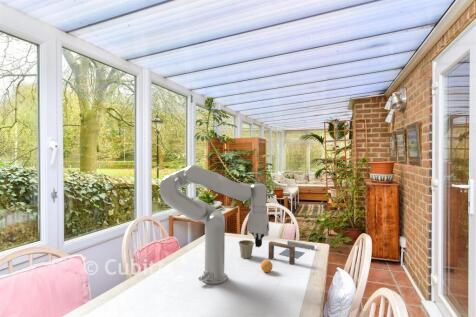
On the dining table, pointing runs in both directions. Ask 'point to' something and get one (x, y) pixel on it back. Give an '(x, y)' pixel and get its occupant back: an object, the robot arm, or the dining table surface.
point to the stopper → (301, 245)
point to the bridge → (290, 247)
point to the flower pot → (246, 248)
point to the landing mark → (286, 253)
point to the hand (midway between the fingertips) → (258, 246)
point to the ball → (266, 266)
